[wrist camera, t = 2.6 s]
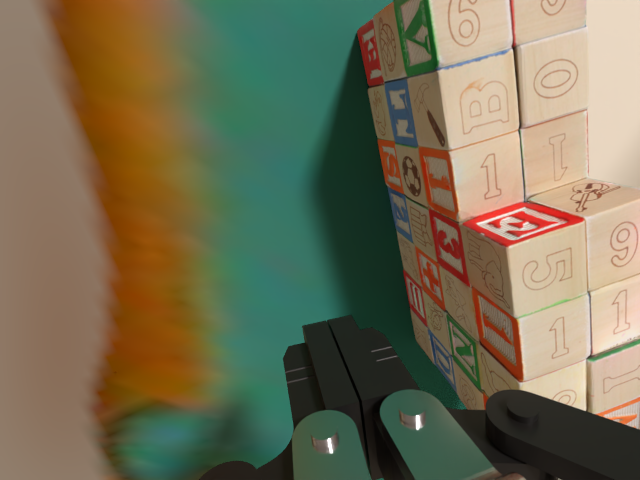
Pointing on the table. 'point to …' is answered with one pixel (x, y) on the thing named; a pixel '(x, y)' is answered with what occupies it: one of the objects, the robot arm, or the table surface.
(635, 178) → the mat
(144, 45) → the table surface
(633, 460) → the robot arm
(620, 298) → the stack of blocks
